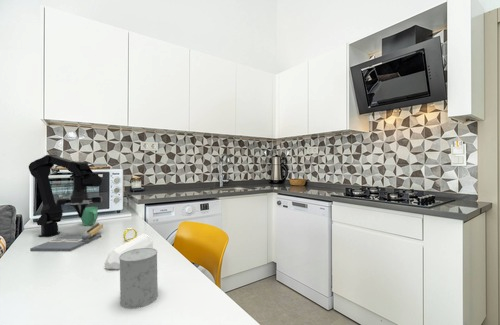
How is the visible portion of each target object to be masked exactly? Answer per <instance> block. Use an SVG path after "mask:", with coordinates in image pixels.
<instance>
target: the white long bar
mask: <svg viewBox="0 0 500 325" xmlns="http://www.w3.org/2000/svg"><path fill="white" fill-rule="evenodd" d="M133 238H134V237H133ZM133 238H131V239H132V240H131V241H126V242H125V243H123V244H121V245H120V246H117V247H116V248H114V249H113V250H111V251H110V252H109V253H108V255H107V257H106V259H105V261H104V267H105V269H106V270H116V271H118V270H119V271H120V259H119V257H120V255H121V254H123V253H125V252H127V251H130V250H133V249H139V248H153V249H154V246H153V244H154V243H153V241H152V239H151V237H150V236H149V235H148V234H146V233H144V232H143V233H142V234H140V235H137V236H136V238H134V239H133Z"/></svg>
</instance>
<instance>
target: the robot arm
mask: <svg viewBox="0 0 500 325" xmlns="http://www.w3.org/2000/svg"><path fill="white" fill-rule="evenodd" d="M55 165H56V166H58V167H62V168H65V169H67V171H68V172H70V173H72V174H70V176H69V178H70V179H72V180H73V184H72V185H73V186H72V187H73V190H72V194H71V195H70V198H69V197H60V198H58V199H57V200H56V199H55V197H54V193H53V190H52V185H51V181H50V178H49V176H50V174H51V172H52V171H51V170H52V169H51V168H53V167H54V166H55ZM28 170H29V173H30V175H31V176H32V177H33V178H34V179H35V180H36V182H37V186H38V189H39V190H38V191H39V195H40V199H41V201H42V208H41V210H40V217H39V218H38V219H37V220H36V224H37V226H40V231H41V232H40V234H39V235H38V237H39V238H41V237H43V238H44V237H45V238H49V237H50V238H51V237H53V236H56V235H60V233H61V232H59V226H58V223H59V222H60V223H61V220H62V217H63V212H64V210H63V209H62V207H63V206H64V205H66V204H70V206H71V207H73V208H74V209H75V211H76V213H77V215H78V217H79V219H81V217H82V216H83V213H84V210H85V208H86V207H88V205H90V204H91V203H93V204H98V203H102V202H103V196H102V195H98V196H97V195H95V196H92V197H89V192H88V188H91V187H92V188H98V187H100V186H101V185H102V181H103V179H102V177H101V176H100V175H99V173H97V172H96V173H94V171H93V170H92V169H91V167H90V166H89V163H88V162H85V161H78V160H77V161H76V160H75V161H74V160H70V159H67V158H64V157H61V156H57V155H55V154H47V155H43V157H41V158H38V159H35V160H33V161H31V162H30V163H29V165H28Z"/></svg>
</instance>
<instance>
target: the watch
mask: <svg viewBox="0 0 500 325" xmlns="http://www.w3.org/2000/svg"><path fill="white" fill-rule="evenodd" d="M129 231H134V236H133V238H131V239H127V238H126V234H127V232H129ZM122 237H123V239H124V240H125V241H126V242H129V241H131V240H132V239H134V238H136V237H138V231H137V230H136V229H135V228H134V227H128V228H126V230H124V232H123V236H122Z"/></svg>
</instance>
